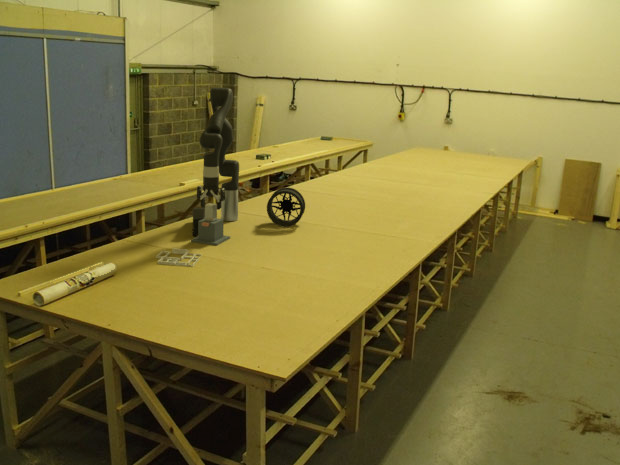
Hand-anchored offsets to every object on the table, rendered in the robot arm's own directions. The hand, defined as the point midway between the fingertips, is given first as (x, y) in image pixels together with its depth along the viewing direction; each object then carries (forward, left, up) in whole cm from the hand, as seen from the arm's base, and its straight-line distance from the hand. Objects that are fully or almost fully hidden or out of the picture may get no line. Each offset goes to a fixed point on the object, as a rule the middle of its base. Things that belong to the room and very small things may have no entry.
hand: (210, 208), depth 298 cm
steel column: (0, 0, -14) cm, 14 cm away
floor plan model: (+32, -2, -17) cm, 37 cm away
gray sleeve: (0, 0, -16) cm, 16 cm away
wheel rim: (-45, +22, -16) cm, 52 cm away
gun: (-15, -15, -17) cm, 27 cm away
